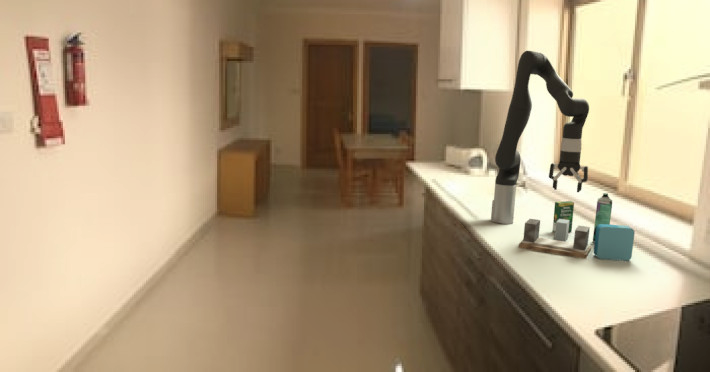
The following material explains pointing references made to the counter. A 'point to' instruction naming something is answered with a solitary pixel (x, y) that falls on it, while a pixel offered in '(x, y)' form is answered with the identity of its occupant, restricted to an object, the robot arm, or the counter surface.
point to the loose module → (562, 230)
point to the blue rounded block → (614, 242)
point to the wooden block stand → (555, 241)
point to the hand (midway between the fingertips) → (566, 190)
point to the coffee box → (563, 213)
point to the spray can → (602, 212)
